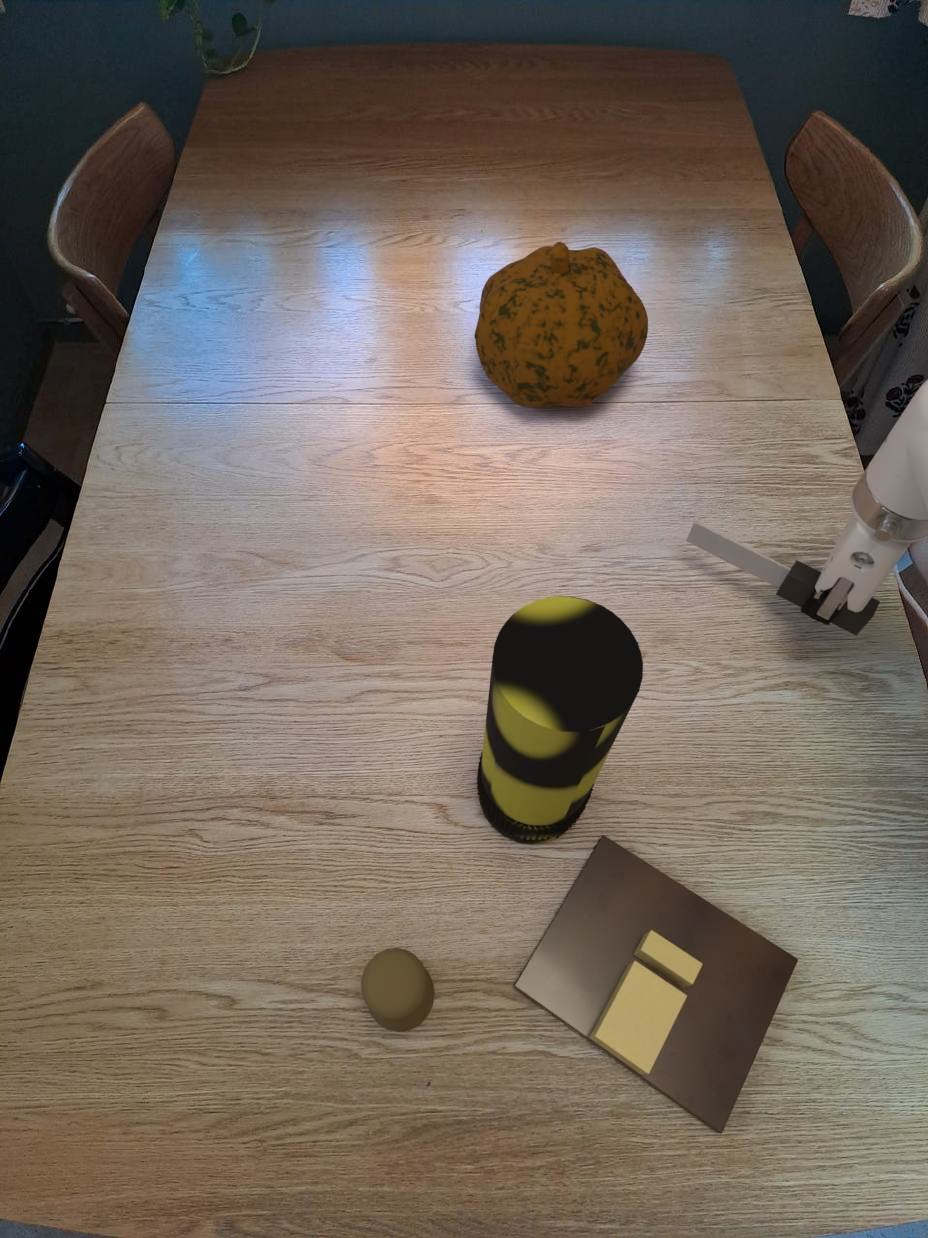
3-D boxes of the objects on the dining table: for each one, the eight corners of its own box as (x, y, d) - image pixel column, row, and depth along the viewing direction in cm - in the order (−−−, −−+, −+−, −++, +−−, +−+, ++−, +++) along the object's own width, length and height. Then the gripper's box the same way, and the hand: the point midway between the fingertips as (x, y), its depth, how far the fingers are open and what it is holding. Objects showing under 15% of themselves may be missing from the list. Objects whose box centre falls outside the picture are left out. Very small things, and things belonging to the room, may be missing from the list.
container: (590, 752, 85) (653, 606, 59) (577, 857, 80) (640, 749, 54) (485, 733, 86) (502, 581, 60) (466, 836, 81) (475, 719, 55)
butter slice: (693, 968, 74) (703, 963, 71) (683, 988, 73) (693, 984, 71) (643, 935, 76) (651, 929, 73) (633, 954, 75) (640, 949, 72)
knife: (863, 620, 88) (880, 601, 84) (856, 636, 87) (872, 616, 83) (691, 533, 93) (700, 511, 90) (682, 547, 92) (691, 525, 89)
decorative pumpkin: (643, 435, 105) (664, 299, 88) (475, 435, 107) (464, 302, 90) (636, 327, 115) (654, 187, 98) (484, 329, 117) (476, 191, 100)
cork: (375, 1041, 72) (363, 1035, 63) (359, 969, 75) (346, 952, 66) (442, 1019, 73) (441, 1010, 64) (424, 949, 76) (420, 929, 66)
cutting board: (792, 961, 76) (798, 959, 75) (716, 1133, 70) (721, 1134, 68) (600, 838, 81) (602, 834, 80) (512, 987, 75) (514, 986, 73)
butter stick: (678, 999, 73) (687, 995, 70) (640, 1075, 70) (648, 1074, 67) (627, 964, 74) (634, 960, 72) (589, 1038, 71) (594, 1036, 69)
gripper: (912, 584, 68) (825, 681, 84) (971, 457, 75) (880, 570, 91) (824, 541, 70) (756, 644, 86) (890, 422, 77) (815, 538, 93)
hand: (820, 605), depth 88 cm, fingers closed on knife, 2 cm apart
